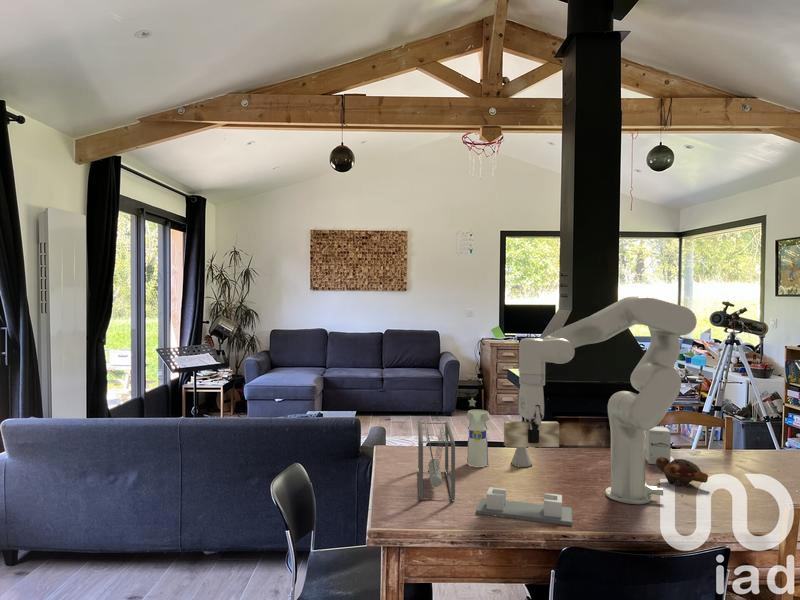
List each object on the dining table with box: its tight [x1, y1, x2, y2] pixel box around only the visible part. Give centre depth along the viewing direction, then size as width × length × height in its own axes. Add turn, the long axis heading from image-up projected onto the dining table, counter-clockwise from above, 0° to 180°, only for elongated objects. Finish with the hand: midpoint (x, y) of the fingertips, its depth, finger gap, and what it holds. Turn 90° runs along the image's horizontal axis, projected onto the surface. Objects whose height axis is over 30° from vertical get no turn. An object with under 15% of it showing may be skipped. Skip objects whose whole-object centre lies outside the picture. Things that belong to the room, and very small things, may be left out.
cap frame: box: [476, 486, 573, 527], centre depth 141 cm, size 25×10×5 cm, turn 72°
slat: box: [503, 420, 560, 448], centre depth 151 cm, size 16×2×7 cm, turn 94°
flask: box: [510, 447, 533, 468], centre depth 185 cm, size 7×7×10 cm
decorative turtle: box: [655, 457, 709, 488], centre depth 165 cm, size 10×15×8 cm, turn 51°
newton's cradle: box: [417, 420, 456, 501], centre depth 163 cm, size 30×10×18 cm, turn 178°
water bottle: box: [466, 397, 491, 466], centre depth 185 cm, size 8×9×25 cm
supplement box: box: [645, 426, 672, 465], centre depth 189 cm, size 7×7×13 cm
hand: (531, 441), depth 151 cm, fingers closed on slat, 2 cm apart
